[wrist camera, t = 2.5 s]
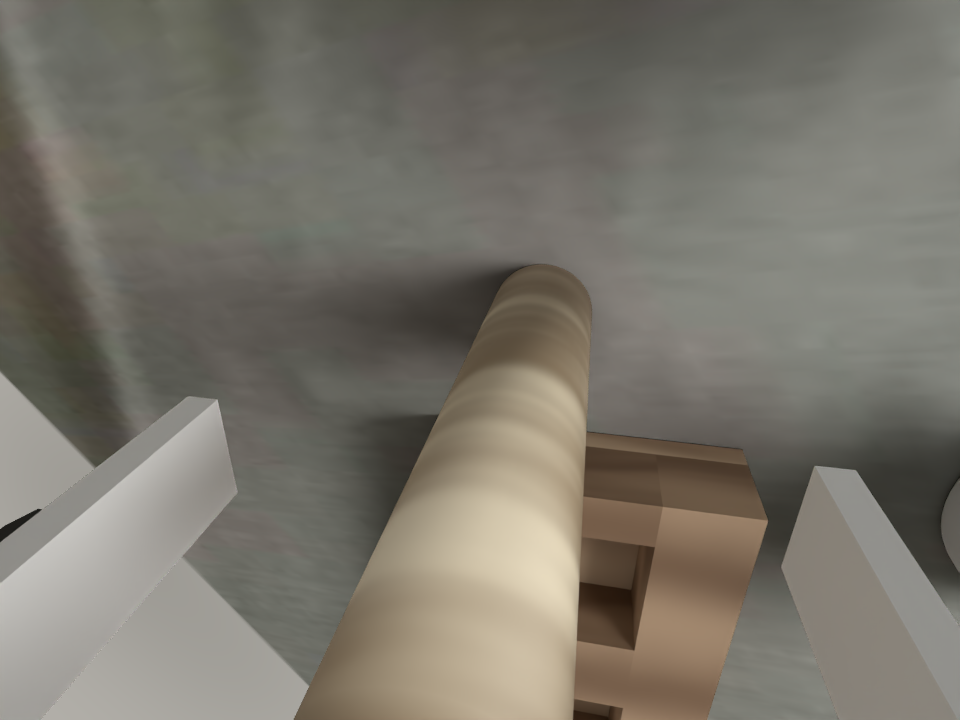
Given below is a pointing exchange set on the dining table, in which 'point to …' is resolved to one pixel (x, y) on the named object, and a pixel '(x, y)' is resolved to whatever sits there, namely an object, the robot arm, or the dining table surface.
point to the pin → (481, 535)
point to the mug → (952, 525)
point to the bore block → (660, 575)
